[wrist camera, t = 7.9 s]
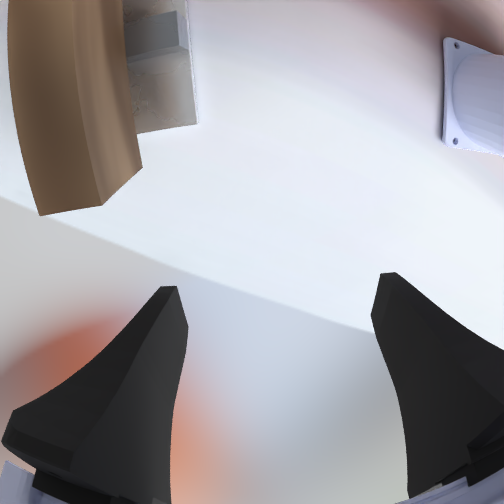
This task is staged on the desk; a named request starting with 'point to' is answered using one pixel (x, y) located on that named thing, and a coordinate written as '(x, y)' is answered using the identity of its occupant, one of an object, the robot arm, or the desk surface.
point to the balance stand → (159, 64)
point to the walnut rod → (71, 100)
